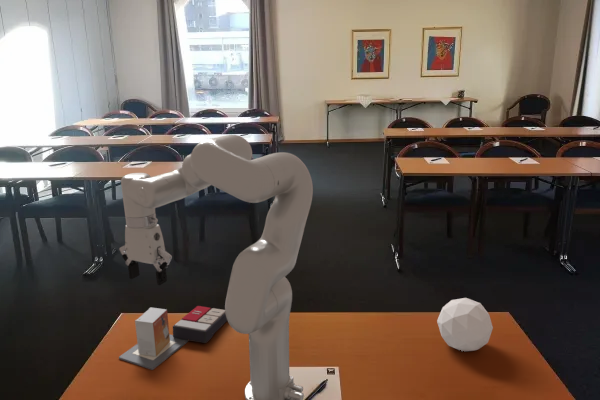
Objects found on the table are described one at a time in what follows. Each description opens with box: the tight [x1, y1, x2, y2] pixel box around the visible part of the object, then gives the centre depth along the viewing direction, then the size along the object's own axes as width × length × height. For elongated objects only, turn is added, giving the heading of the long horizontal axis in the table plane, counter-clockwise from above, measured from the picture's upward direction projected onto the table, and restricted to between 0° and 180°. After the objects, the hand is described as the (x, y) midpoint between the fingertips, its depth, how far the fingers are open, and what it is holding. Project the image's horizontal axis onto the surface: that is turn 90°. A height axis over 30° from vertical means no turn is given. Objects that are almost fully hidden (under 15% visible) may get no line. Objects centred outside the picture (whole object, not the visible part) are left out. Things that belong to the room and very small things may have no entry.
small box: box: [134, 307, 170, 356], centre depth 134 cm, size 8×6×10 cm
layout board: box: [118, 333, 189, 371], centre depth 136 cm, size 12×15×1 cm
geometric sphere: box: [436, 297, 494, 352], centre depth 134 cm, size 14×15×15 cm
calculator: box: [172, 305, 228, 344], centre depth 145 cm, size 11×4×15 cm
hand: (148, 280), depth 129 cm, fingers open, 9 cm apart
